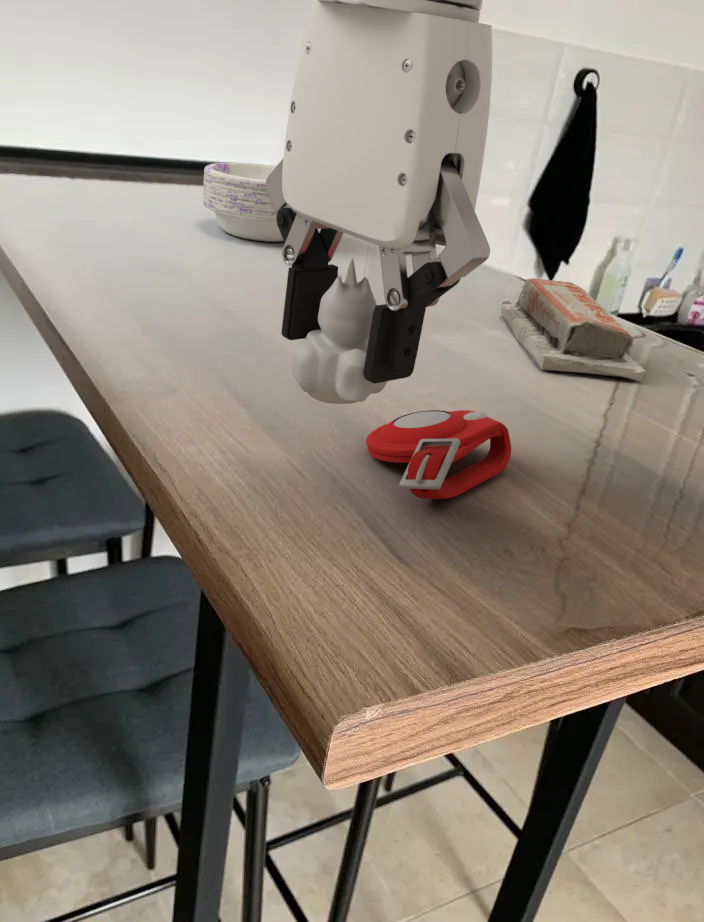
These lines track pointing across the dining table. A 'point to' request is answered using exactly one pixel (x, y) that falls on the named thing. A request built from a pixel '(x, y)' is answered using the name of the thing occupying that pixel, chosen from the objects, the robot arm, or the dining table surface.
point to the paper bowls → (241, 200)
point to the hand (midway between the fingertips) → (345, 353)
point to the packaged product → (570, 331)
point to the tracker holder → (441, 450)
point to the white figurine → (338, 345)
